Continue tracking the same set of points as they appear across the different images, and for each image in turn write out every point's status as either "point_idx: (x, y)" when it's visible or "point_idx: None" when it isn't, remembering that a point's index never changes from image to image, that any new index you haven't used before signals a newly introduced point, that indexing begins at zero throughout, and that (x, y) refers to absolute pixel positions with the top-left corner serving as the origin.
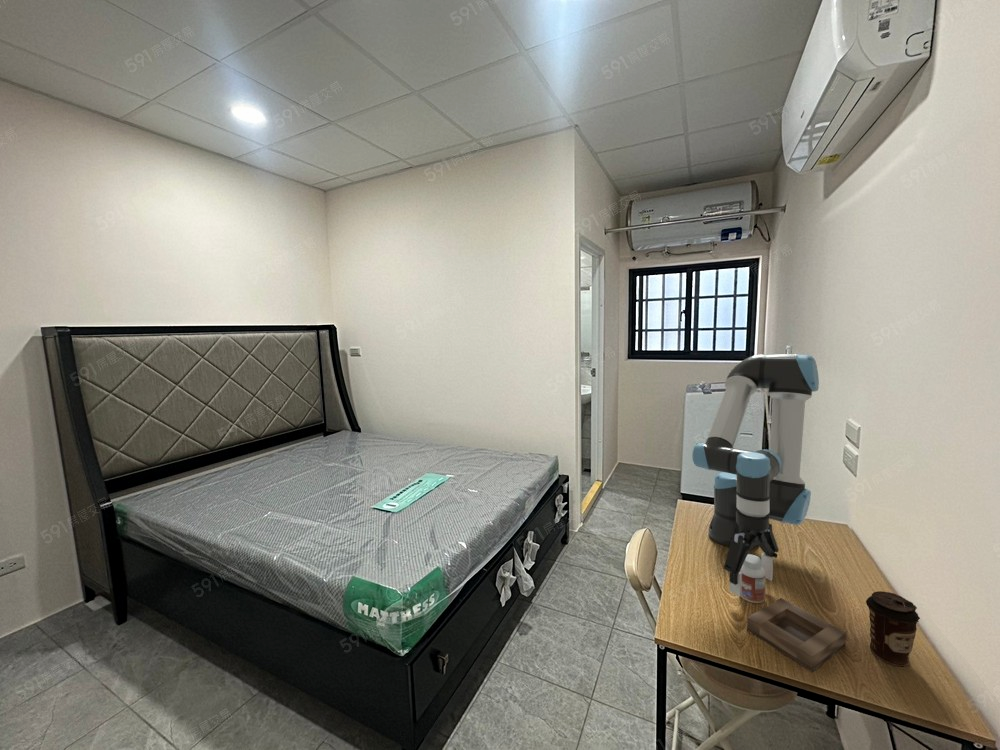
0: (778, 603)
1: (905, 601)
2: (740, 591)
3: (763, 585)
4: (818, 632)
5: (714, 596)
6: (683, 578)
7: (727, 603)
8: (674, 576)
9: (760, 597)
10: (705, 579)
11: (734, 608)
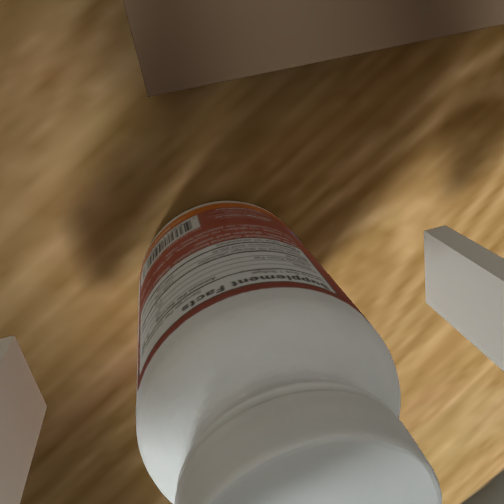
0: (245, 38)
1: None
2: (465, 243)
3: (219, 253)
4: None
5: (424, 329)
6: None
7: (415, 259)
8: (459, 498)
9: (237, 212)
10: None
11: (419, 209)
